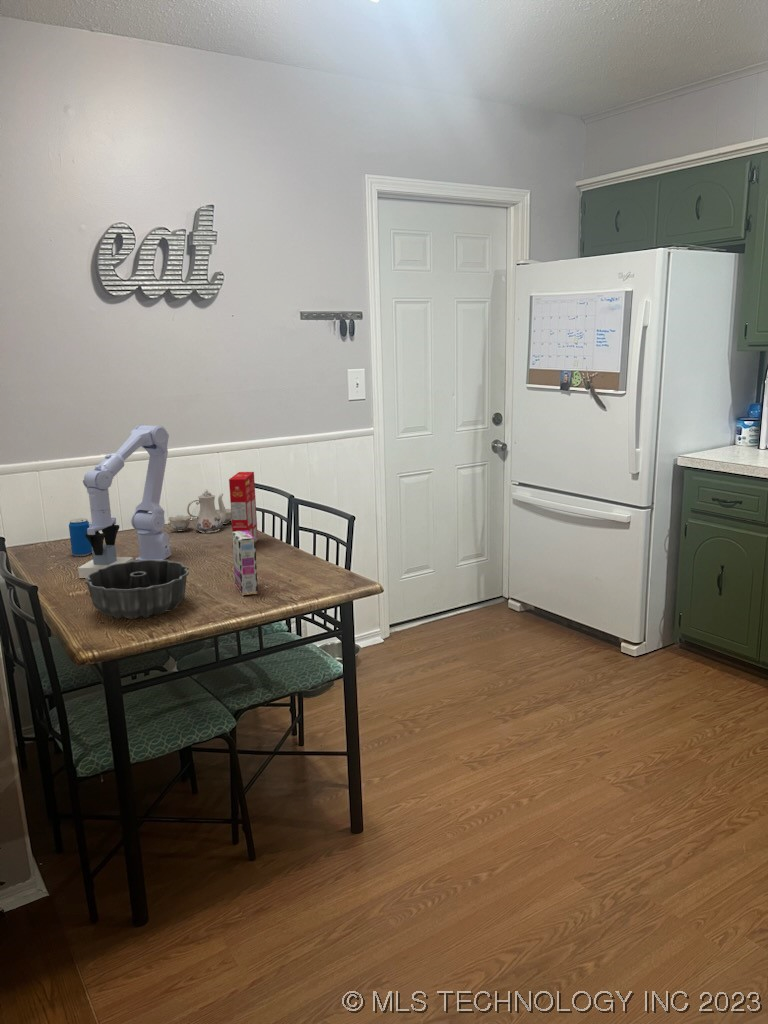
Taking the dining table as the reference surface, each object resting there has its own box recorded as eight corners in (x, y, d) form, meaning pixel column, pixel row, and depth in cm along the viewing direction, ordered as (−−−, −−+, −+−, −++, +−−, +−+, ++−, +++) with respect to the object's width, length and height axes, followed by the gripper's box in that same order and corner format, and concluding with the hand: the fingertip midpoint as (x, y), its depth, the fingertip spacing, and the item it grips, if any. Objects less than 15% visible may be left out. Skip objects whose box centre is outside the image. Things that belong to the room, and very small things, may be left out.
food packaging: (243, 540, 271) (239, 471, 265) (257, 540, 271) (253, 471, 265) (233, 551, 257) (228, 479, 251) (249, 551, 256) (244, 479, 251)
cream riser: (134, 569, 240) (132, 557, 239) (116, 581, 228) (115, 568, 228) (98, 568, 241) (97, 556, 241) (79, 580, 230) (78, 567, 229)
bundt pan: (211, 605, 204) (208, 570, 201) (121, 634, 185) (118, 595, 182) (158, 586, 221) (155, 554, 219) (71, 611, 202) (67, 575, 200)
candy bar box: (259, 594, 212) (255, 538, 208) (241, 596, 210) (237, 540, 207) (251, 583, 222) (248, 529, 219) (234, 585, 220) (231, 531, 217)
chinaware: (229, 523, 304) (224, 483, 301) (249, 526, 291) (245, 484, 289) (163, 536, 286) (157, 493, 284) (182, 539, 273) (176, 494, 271)
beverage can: (96, 552, 259) (92, 518, 257) (86, 557, 253) (83, 522, 250) (78, 551, 260) (74, 518, 257) (68, 557, 254) (64, 522, 251)
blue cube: (116, 560, 236) (115, 545, 235) (108, 565, 231) (107, 549, 230) (101, 560, 237) (100, 544, 236) (93, 564, 232) (91, 549, 231)
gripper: (99, 503, 238) (103, 545, 241) (75, 514, 224) (80, 558, 227) (120, 504, 237) (124, 545, 240) (98, 514, 223) (102, 558, 226)
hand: (104, 551), depth 233 cm, fingers open, 7 cm apart
